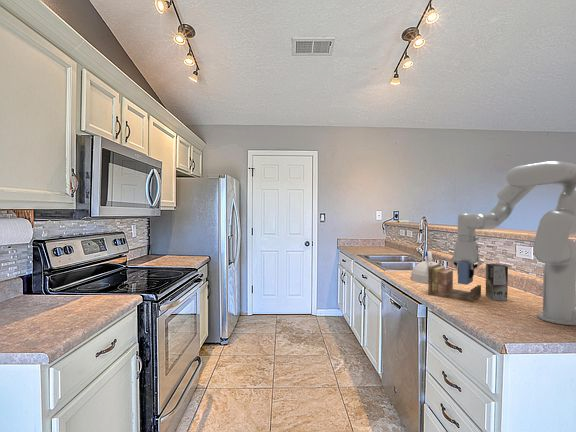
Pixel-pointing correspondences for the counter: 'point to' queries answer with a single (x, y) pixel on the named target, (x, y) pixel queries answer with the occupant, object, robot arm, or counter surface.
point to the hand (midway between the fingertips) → (465, 276)
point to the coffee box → (496, 281)
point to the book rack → (448, 285)
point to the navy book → (464, 273)
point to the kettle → (422, 269)
